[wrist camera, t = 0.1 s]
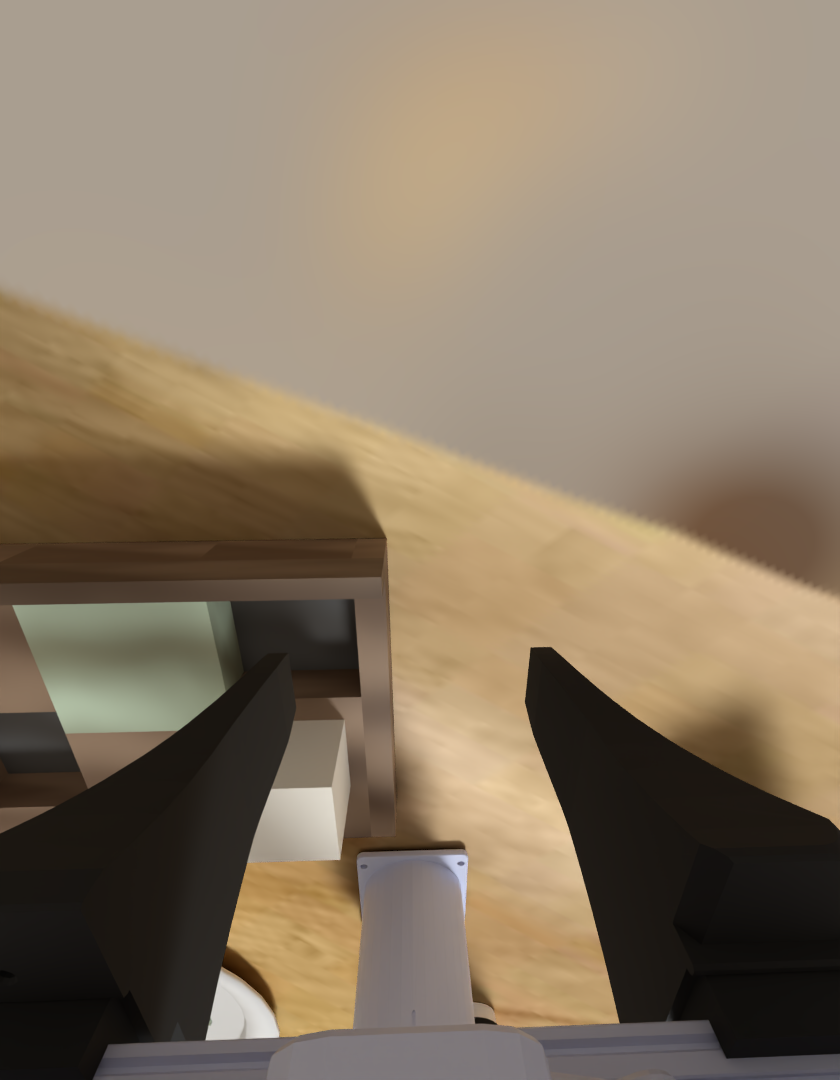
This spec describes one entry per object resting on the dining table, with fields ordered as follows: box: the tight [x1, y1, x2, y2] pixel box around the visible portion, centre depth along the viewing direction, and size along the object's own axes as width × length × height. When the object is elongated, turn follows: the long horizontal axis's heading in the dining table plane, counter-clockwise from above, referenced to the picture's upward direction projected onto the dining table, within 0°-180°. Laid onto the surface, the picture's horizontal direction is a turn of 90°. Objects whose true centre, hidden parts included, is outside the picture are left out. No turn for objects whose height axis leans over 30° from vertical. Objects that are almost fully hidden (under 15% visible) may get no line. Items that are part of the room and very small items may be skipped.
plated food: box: [206, 967, 280, 1040], centre depth 36 cm, size 30×30×3 cm
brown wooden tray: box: [0, 538, 397, 838], centre depth 22 cm, size 19×27×4 cm
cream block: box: [247, 720, 351, 863], centre depth 21 cm, size 5×5×4 cm
